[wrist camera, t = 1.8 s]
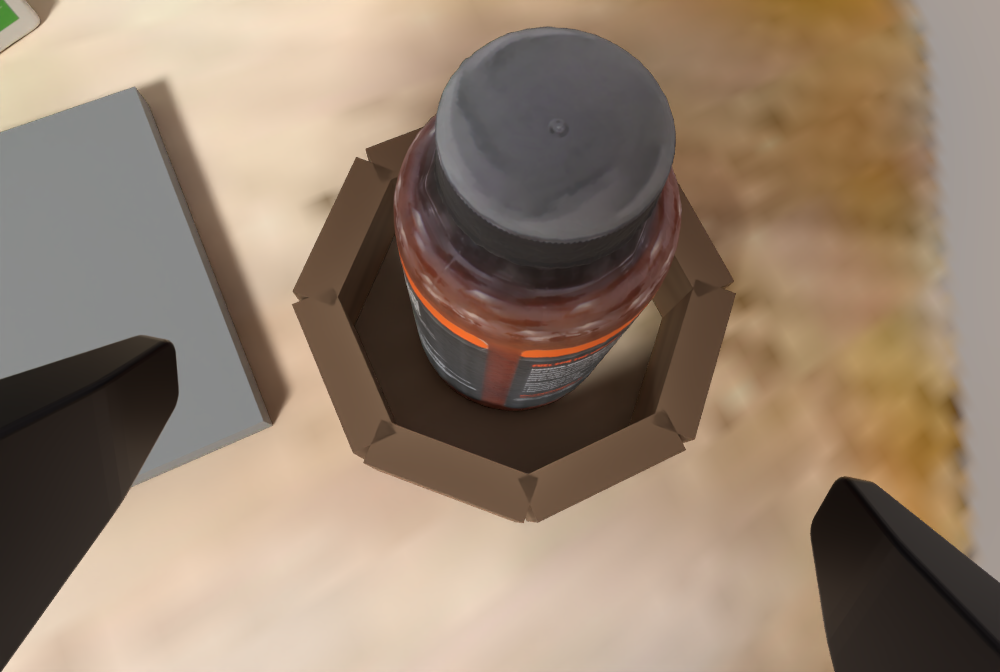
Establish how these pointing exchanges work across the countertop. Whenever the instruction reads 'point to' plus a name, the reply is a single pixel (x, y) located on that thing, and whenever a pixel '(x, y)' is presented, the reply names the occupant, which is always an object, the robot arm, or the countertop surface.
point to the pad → (117, 268)
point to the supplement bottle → (536, 214)
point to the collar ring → (458, 473)
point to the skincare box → (15, 21)
